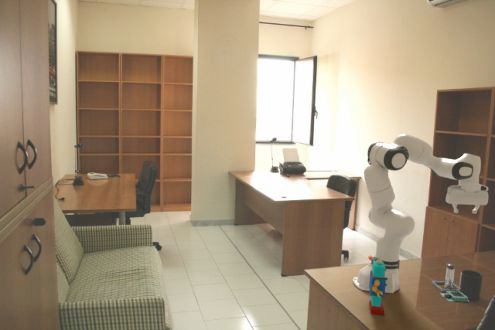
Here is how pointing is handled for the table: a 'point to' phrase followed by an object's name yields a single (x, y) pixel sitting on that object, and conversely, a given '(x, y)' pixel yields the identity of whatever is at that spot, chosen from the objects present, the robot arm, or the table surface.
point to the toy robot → (377, 287)
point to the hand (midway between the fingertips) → (465, 212)
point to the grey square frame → (444, 283)
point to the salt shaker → (449, 275)
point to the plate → (455, 296)
